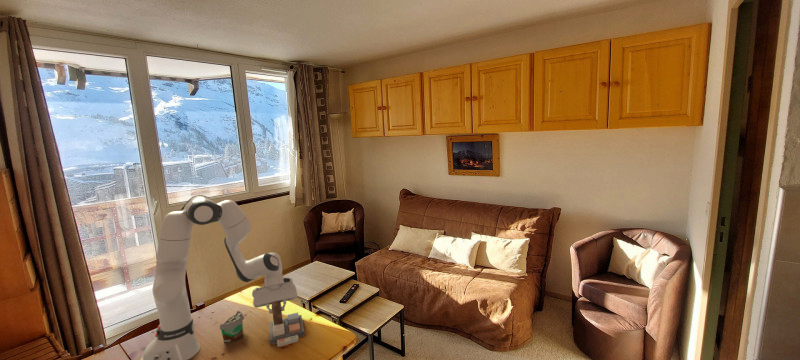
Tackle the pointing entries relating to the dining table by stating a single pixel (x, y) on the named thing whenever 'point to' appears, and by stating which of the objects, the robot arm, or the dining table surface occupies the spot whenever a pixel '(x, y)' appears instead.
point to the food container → (233, 328)
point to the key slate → (293, 318)
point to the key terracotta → (294, 327)
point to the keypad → (286, 334)
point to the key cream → (278, 330)
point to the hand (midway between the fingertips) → (277, 312)
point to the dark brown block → (277, 313)
